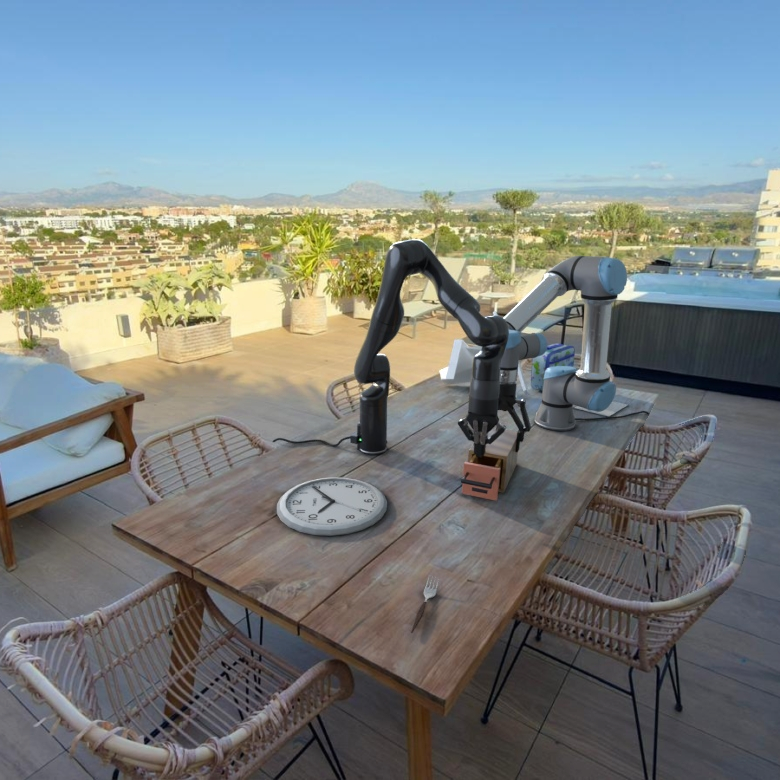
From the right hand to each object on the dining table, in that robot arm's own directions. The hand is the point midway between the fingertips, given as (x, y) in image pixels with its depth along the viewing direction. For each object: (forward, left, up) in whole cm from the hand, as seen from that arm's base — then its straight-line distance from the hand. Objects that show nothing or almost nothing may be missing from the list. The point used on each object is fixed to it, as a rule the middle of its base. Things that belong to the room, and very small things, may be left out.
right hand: (498, 447), depth 166 cm
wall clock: (+47, +32, -7) cm, 57 cm away
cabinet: (+2, +6, -7) cm, 9 cm away
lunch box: (-32, -92, -7) cm, 98 cm away
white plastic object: (+2, -79, -7) cm, 79 cm away
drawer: (+5, +16, -6) cm, 18 cm away
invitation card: (-50, -67, -7) cm, 84 cm away
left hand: (+8, +26, +8) cm, 29 cm away
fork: (+20, +69, -7) cm, 72 cm away
